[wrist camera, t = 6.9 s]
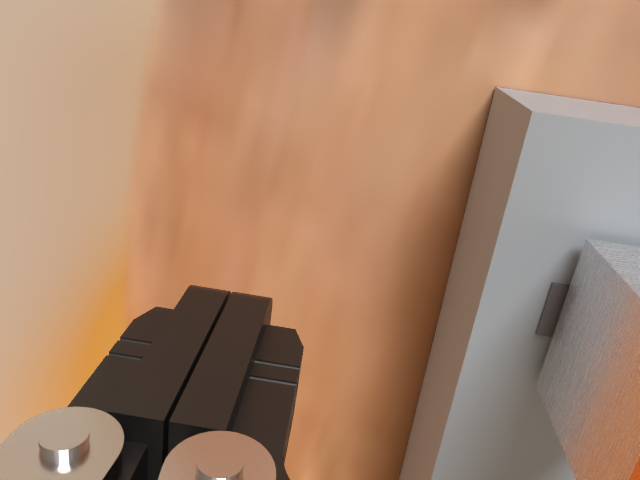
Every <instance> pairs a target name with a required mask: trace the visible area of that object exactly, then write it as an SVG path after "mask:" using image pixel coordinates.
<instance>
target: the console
mask: <svg viewBox="0 0 640 480" xmlns="http://www.w3.org/2000/svg"><path fill="white" fill-rule="evenodd" d="M586 238H587V239H593V240H600V241H606V242H612V243H619V244H625V245H632V246H638V247H640V108H638V107H631V106H624V105H617V104H610V103H603V102H597V101H590V100H583V99H576V98H569V97H562V96H556V95H549V94H542V93H535V92H528V91H521V90H514V89H508V88H501V87H495V91H494V95H493V99H492V103H491V108H490V112H489V116H488V120H487V124H486V128H485V132H484V136H483V140H482V144H481V148H480V152H479V156H478V160H477V164H476V169H475V173H474V177H473V181H472V185H471V189H470V193H469V197H468V201H467V205H466V209H465V213H464V217H463V221H462V225H461V229H460V234H459V238H458V242H457V246H456V250H455V254H454V258H453V262H452V266H451V270H450V274H449V278H448V282H447V286H446V290H445V295H444V299H443V303H442V307H441V311H440V315H439V319H438V323H437V327H436V331H435V335H434V339H433V343H432V347H431V351H430V355H429V360H428V364H427V368H426V372H425V376H424V380H423V384H422V388H421V392H420V396H419V400H418V404H417V408H416V412H415V416H414V421H413V425H412V429H411V433H410V437H409V441H408V445H407V449H406V453H405V457H404V461H403V465H402V469H401V473H400V477H399V480H576V479H575V476H574V474H573V472H572V469H571V467H570V465H569V462H568V460H567V458H566V455H565V453H564V450H563V448H562V446H561V443H560V441H559V439H558V436H557V434H556V432H555V429H554V427H553V424H552V422H551V420H550V417H549V415H548V413H547V410H546V408H545V405H544V403H543V401H542V398H541V396H540V394H539V391H538V389H537V387H536V383H537V381H538V378H539V375H540V372H541V369H542V366H543V363H544V360H545V357H546V354H547V351H548V348H549V345H550V343H551V340H552V337H553V334H554V331H555V328H556V325H557V322H558V319H559V316H560V313H561V310H562V307H563V305H564V302H565V299H566V296H567V293H568V290H569V287H570V284H571V281H572V278H573V275H574V272H575V269H576V267H577V264H578V261H579V258H580V255H581V252H582V249H583V246H584V243H585V240H586Z"/></svg>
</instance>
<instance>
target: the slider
mask: <svg viewBox="0 0 640 480" xmlns="http://www.w3.org/2000/svg"><path fill="white" fill-rule="evenodd" d="M536 387H537V389H538V391H539V394H540V396H541V398H542V401H543V403H544V405H545V408H546V410H547V413H548V415H549V417H550V420H551V422H552V424H553V427H554V429H555V432H556V434H557V436H558V439H559V441H560V443H561V446H562V448H563V450H564V453H565V455H566V458H567V460H568V462H569V465H570V467H571V469H572V472H573V474H574V476H575V479H576V480H640V247H638V246H632V245H625V244H619V243H612V242H606V241H600V240H593V239H587V238H586V240H585V243H584V246H583V249H582V252H581V255H580V258H579V261H578V264H577V267H576V269H575V272H574V275H573V278H572V281H571V284H570V287H569V290H568V293H567V296H566V299H565V302H564V305H563V307H562V310H561V313H560V316H559V319H558V322H557V325H556V328H555V331H554V334H553V337H552V340H551V343H550V345H549V348H548V351H547V354H546V357H545V360H544V363H543V366H542V369H541V372H540V375H539V378H538V381H537V383H536Z"/></svg>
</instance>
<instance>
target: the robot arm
mask: <svg viewBox="0 0 640 480" xmlns="http://www.w3.org/2000/svg"><path fill="white" fill-rule="evenodd" d="M271 312H272V298H268V297H262V296H256V295H250V294H244V293H238V292H232V293H231V292H230V291H225V290H219V289H212V288H206V287H200V286H194V285H190V286H189V287H188V289H187V290H186V292H185V293H184V295H183V296H182V298H181V299H180V301H179V302H178V304H177V305H176V307H175V308H174V310H173V309H167V308H161V307H155V308H153V309H151V310H150V311H148V312H146V313H144V314H143V315H141V316H139V317H137V318H136V319H134V320H133V321H132V323H131V324H130V325H129V326H128V328H127V329H126V330H125V332H124V333H123V334H122V336H121V338H120V341H117V342H116V344H115V345H114V346H113V348H112V349H111V350H110V351H109V355H108V356H106V357H105V358H104V359H103V361H102V362H101V363H100V365H99V366H98V367H97V369H96V370H95V372H94V373H93V374H92V375H91V377H90V378H89V379H88V380H87V382H86V383H85V384H84V386H83V387H82V388H81V390H80V391H79V392H78V394H77V395H76V396H75V398H74V399H73V400H72V402H71V403H70V404H69V406H68V407H65V408H59V409H55V410H51V411H47V412H44V413H42V414H39V415H37V416H35V417H33V418H31V419H29V420H27V421H26V422H24V423H23V424H21V425H20V426H19V427H18V428H17V429H15V430H14V431H13V432H12V433H11V434H10V435H9V436H8V437H7V438H6V439H5V440H4V441H3V442H2V443H1V444H0V480H290V479H289V477H288V475H287V473H286V471H285V467H284V463H285V457H286V452H287V447H288V441H289V436H290V431H291V425H292V420H293V415H294V408H295V401H296V395H297V388H298V381H299V375H300V368H301V361H302V355H303V348H304V347H303V345H302V343H301V341H300V339H299V336H298V334H297V332H296V330H295V329H290V328H284V327H278V326H272V325H270V321H271Z"/></svg>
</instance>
